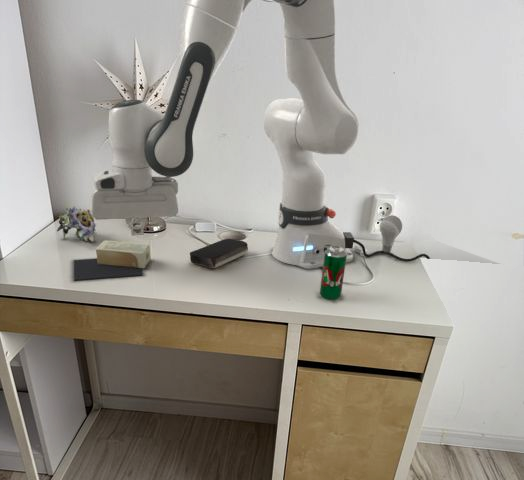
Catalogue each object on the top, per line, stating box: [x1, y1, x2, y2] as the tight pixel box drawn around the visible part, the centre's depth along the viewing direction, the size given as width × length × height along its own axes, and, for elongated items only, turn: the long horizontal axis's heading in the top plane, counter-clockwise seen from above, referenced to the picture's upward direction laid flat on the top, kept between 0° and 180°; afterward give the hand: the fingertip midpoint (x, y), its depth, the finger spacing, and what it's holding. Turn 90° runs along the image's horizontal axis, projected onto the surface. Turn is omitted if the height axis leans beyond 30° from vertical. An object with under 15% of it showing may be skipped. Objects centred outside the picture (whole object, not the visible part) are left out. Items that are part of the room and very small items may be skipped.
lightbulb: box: [379, 214, 403, 253], centre depth 145 cm, size 6×6×11 cm
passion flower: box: [56, 204, 98, 243], centre depth 144 cm, size 11×11×12 cm
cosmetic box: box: [95, 239, 152, 269], centre depth 132 cm, size 6×4×12 cm
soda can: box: [319, 246, 347, 301], centre depth 120 cm, size 5×5×12 cm
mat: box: [73, 258, 143, 282], centre depth 130 cm, size 16×12×1 cm
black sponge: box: [189, 238, 249, 269], centre depth 138 cm, size 16×8×4 cm, turn 143°
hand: (137, 234), depth 127 cm, fingers closed
